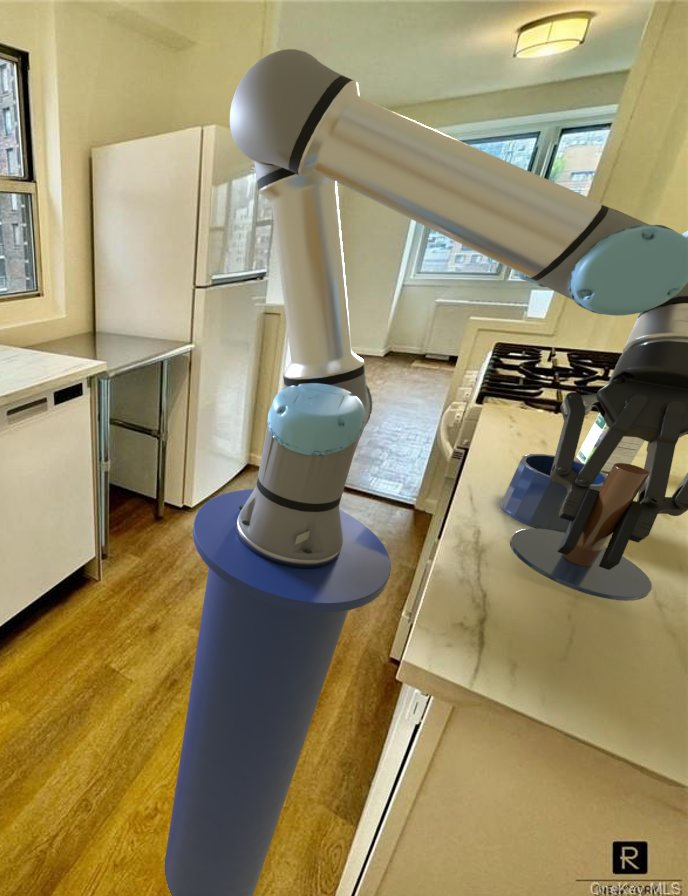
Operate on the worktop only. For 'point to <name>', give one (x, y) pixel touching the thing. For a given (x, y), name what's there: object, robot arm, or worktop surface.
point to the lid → (591, 544)
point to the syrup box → (622, 452)
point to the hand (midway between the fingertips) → (586, 557)
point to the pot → (540, 493)
